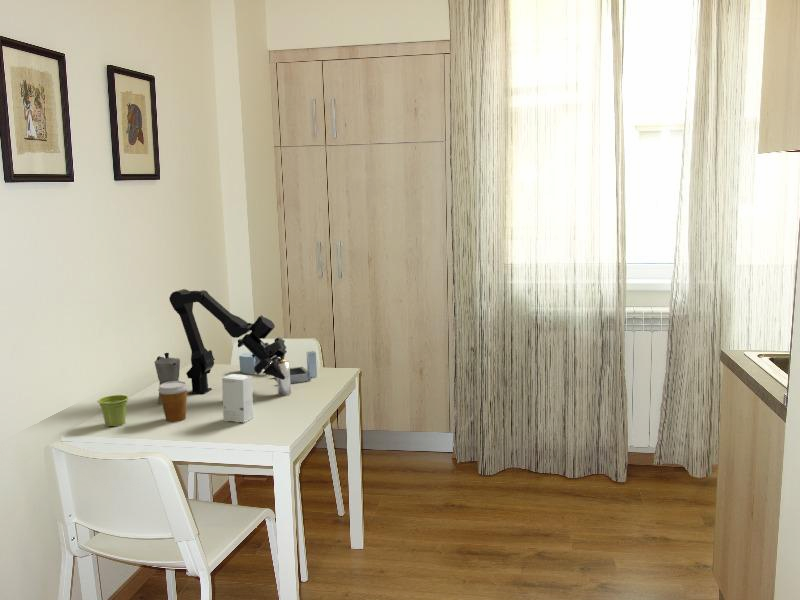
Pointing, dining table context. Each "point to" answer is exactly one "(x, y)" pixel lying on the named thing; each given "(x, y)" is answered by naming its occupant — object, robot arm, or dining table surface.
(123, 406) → the plant pot
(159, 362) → the coffeepot
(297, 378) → the tray
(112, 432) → the dining table surface
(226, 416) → the skincare box
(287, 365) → the silver metal cylinder
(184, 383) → the disposable coffee cup
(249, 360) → the lever frame
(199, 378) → the robot arm
